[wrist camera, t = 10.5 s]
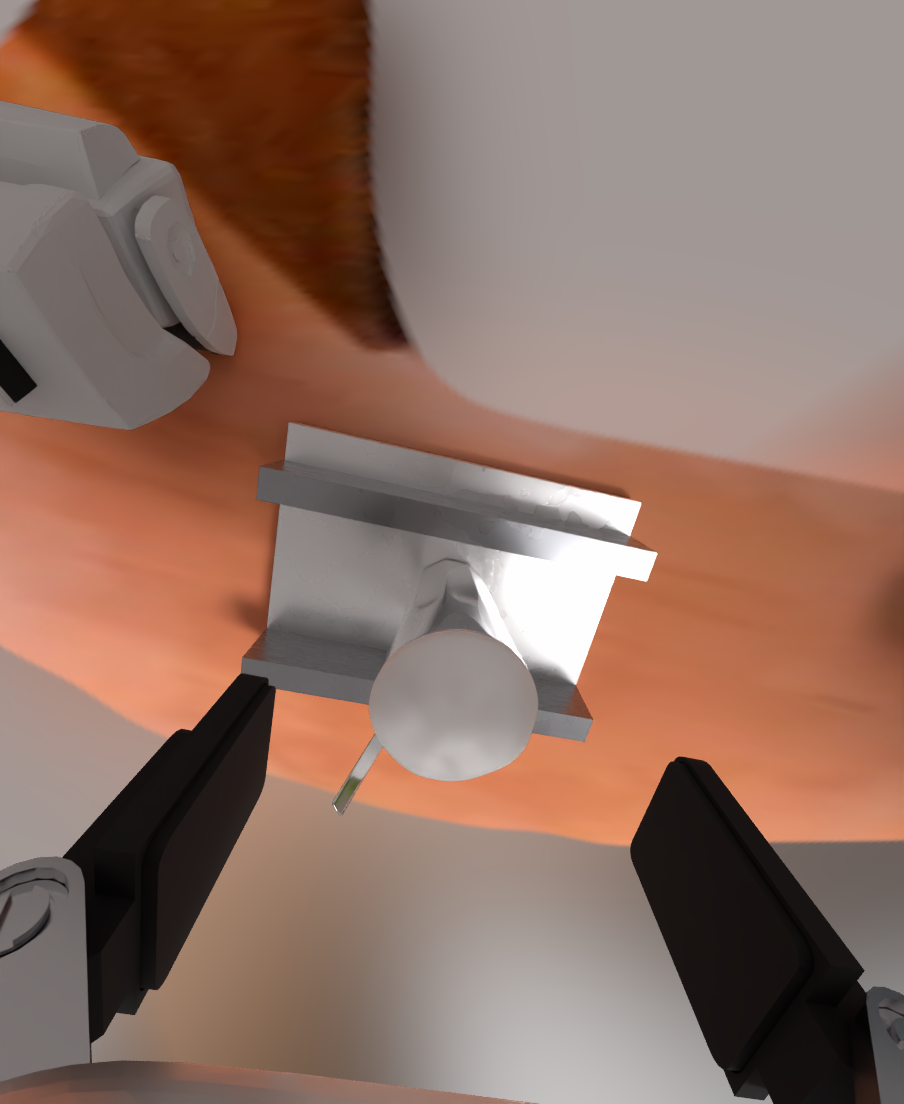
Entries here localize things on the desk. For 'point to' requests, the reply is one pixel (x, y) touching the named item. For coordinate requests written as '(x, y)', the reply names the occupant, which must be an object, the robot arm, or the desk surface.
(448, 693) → the milkshake
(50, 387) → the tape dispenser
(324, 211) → the desk surface
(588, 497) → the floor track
